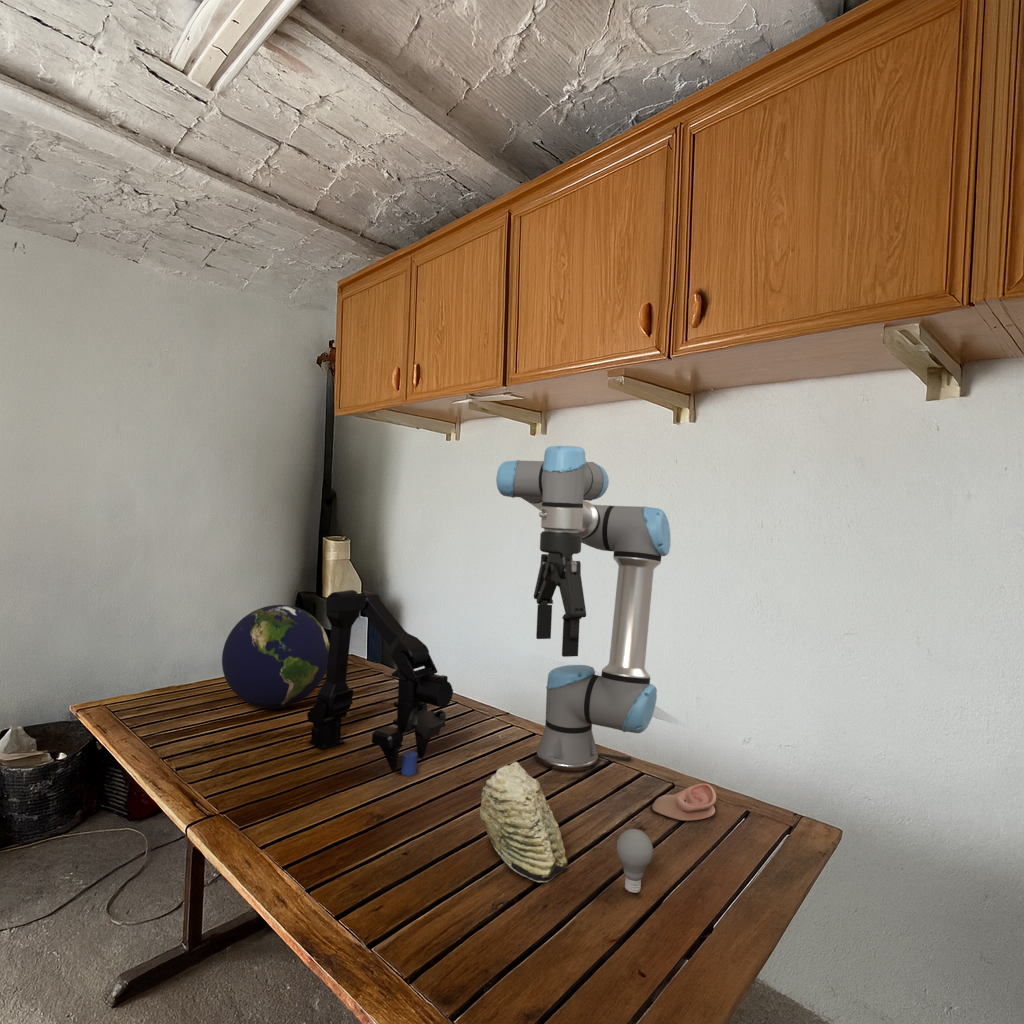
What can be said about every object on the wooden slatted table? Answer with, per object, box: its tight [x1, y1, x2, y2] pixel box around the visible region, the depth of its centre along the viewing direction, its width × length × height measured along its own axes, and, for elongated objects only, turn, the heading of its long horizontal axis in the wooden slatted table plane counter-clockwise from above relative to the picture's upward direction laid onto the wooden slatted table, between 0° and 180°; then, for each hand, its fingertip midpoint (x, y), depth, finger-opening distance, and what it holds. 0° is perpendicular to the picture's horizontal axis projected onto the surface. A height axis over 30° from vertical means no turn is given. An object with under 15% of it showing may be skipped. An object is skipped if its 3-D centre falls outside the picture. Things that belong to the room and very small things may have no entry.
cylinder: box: [400, 750, 418, 777], centre depth 147 cm, size 4×4×4 cm
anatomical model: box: [651, 783, 717, 822], centre depth 135 cm, size 13×4×12 cm
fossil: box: [479, 761, 569, 883], centre depth 114 cm, size 9×18×15 cm, turn 46°
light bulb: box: [615, 828, 654, 894], centre depth 106 cm, size 6×6×10 cm
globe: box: [221, 604, 330, 709], centre depth 188 cm, size 30×30×30 cm
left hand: (407, 764), depth 147 cm, fingers open, 9 cm apart
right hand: (555, 647), depth 116 cm, fingers open, 13 cm apart
